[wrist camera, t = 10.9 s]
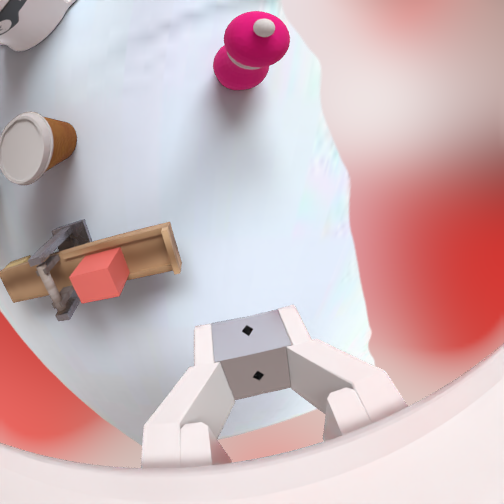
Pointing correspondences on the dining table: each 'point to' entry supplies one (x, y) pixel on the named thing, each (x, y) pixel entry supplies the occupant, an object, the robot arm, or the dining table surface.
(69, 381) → the dining table surface
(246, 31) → the pepper mill
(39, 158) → the disposable coffee cup
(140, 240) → the beam
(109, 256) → the rider
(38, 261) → the stand
